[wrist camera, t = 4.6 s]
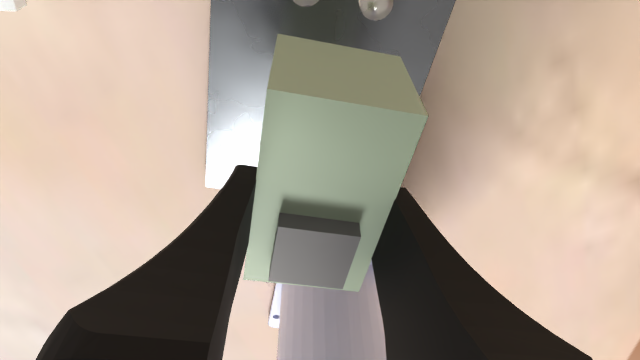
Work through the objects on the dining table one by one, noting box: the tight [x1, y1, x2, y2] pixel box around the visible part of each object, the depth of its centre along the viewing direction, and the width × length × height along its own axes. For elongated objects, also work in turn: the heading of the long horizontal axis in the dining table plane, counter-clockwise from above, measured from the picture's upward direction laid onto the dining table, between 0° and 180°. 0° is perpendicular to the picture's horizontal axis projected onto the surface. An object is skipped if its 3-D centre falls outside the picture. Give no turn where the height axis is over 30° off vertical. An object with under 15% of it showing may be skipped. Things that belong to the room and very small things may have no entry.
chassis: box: [205, 0, 456, 189], centre depth 19 cm, size 14×10×3 cm
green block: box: [243, 34, 428, 292], centre depth 13 cm, size 7×4×5 cm, turn 169°
